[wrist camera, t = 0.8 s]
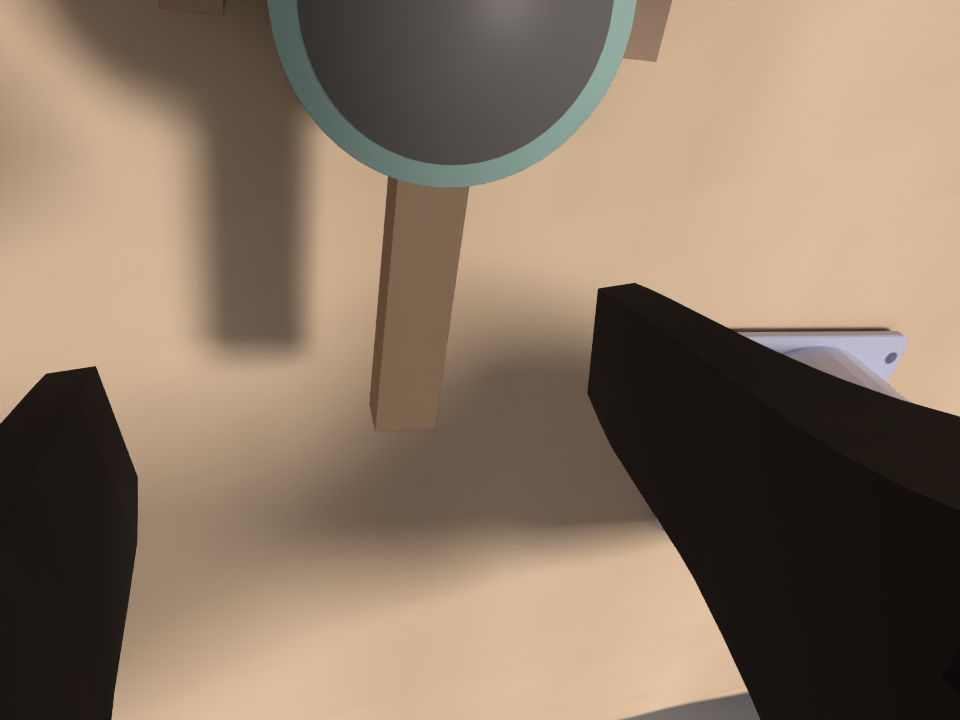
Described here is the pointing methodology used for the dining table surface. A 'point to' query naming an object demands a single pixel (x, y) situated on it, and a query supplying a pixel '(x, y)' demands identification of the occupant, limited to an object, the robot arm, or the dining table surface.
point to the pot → (441, 136)
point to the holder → (639, 47)
